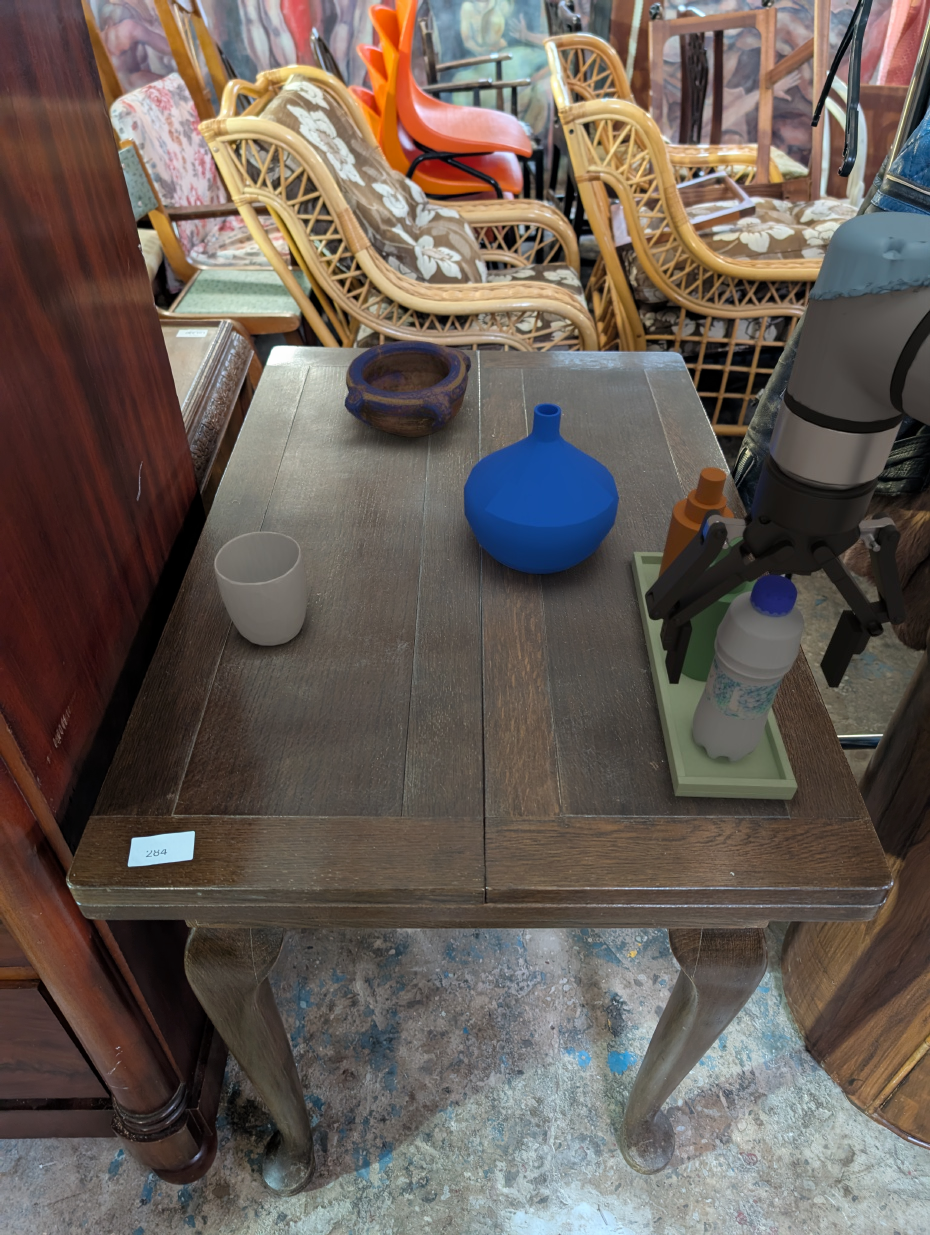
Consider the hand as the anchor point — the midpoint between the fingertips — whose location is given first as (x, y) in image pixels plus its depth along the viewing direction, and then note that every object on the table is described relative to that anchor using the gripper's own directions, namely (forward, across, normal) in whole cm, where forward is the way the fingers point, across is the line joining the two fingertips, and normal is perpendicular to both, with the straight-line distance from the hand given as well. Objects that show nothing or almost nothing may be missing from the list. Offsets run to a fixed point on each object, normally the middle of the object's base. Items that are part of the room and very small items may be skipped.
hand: (749, 674), depth 69 cm
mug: (+10, +47, -17) cm, 51 cm away
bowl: (+10, +36, -61) cm, 71 cm away
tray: (+10, 0, -11) cm, 15 cm away
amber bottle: (+10, 0, -22) cm, 24 cm away
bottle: (+10, 0, 0) cm, 10 cm away
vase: (+10, +17, -31) cm, 37 cm away
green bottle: (+10, 0, -11) cm, 15 cm away
